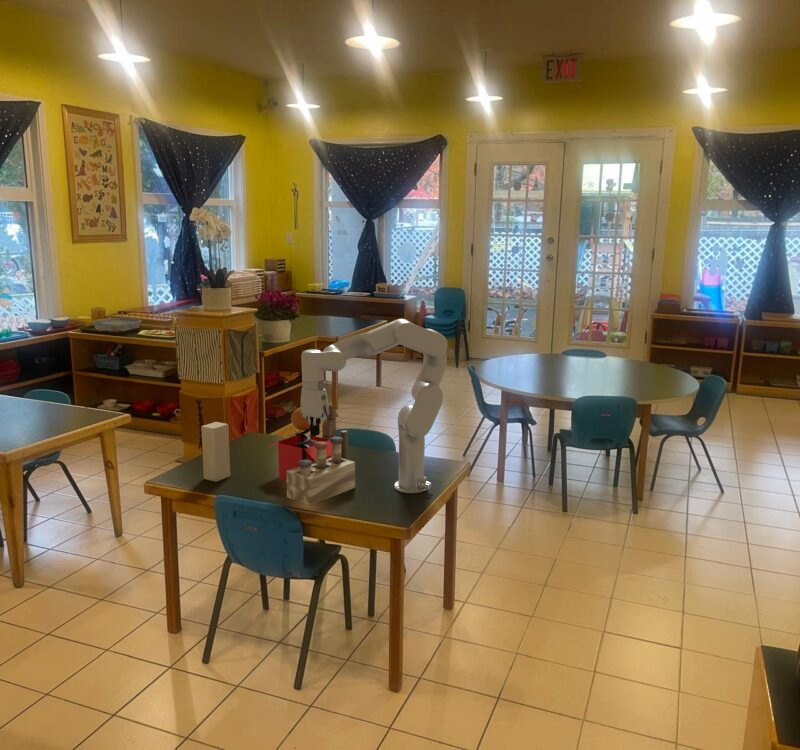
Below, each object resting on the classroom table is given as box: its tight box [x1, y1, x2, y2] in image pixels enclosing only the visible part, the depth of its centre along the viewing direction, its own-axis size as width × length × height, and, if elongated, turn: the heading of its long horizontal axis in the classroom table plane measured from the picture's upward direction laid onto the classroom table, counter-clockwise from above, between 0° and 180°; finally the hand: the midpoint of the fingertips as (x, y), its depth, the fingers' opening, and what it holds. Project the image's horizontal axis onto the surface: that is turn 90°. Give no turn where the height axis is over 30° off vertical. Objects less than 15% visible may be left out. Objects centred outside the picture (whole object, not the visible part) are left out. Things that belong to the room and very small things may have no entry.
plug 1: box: [298, 460, 312, 476], centre depth 261 cm, size 5×5×9 cm
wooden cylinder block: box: [286, 455, 356, 506], centre depth 268 cm, size 12×23×10 cm, turn 141°
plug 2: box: [330, 436, 343, 464], centre depth 272 cm, size 5×5×9 cm
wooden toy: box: [320, 404, 349, 460], centre depth 296 cm, size 15×7×25 cm, turn 160°
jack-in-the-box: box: [266, 406, 332, 482], centre depth 282 cm, size 26×16×30 cm, turn 55°
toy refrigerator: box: [200, 421, 231, 482], centre depth 281 cm, size 8×7×21 cm
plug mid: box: [315, 442, 327, 469], centre depth 266 cm, size 5×5×9 cm
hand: (315, 435), depth 262 cm, fingers closed
